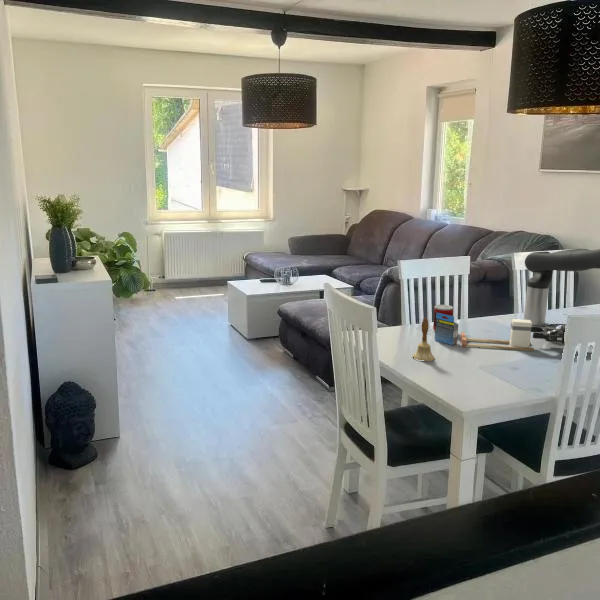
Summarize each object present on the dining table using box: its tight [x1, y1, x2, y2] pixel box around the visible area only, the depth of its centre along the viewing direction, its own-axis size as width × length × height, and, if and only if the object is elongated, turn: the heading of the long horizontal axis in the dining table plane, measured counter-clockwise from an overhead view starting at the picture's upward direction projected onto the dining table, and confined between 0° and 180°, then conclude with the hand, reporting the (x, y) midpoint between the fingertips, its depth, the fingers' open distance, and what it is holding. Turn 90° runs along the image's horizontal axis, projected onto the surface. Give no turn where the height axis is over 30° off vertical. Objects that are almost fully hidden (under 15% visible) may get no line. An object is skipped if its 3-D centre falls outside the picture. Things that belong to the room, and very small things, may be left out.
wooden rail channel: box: [459, 331, 535, 352], centre depth 244 cm, size 11×28×3 cm, turn 79°
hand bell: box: [412, 317, 435, 362], centre depth 228 cm, size 8×8×16 cm
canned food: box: [432, 304, 454, 331], centre depth 263 cm, size 8×8×11 cm
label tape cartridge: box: [434, 312, 459, 346], centre depth 247 cm, size 9×4×12 cm, turn 43°
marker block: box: [508, 318, 533, 347], centre depth 242 cm, size 5×7×11 cm, turn 79°
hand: (531, 332), depth 241 cm, fingers open, 8 cm apart
